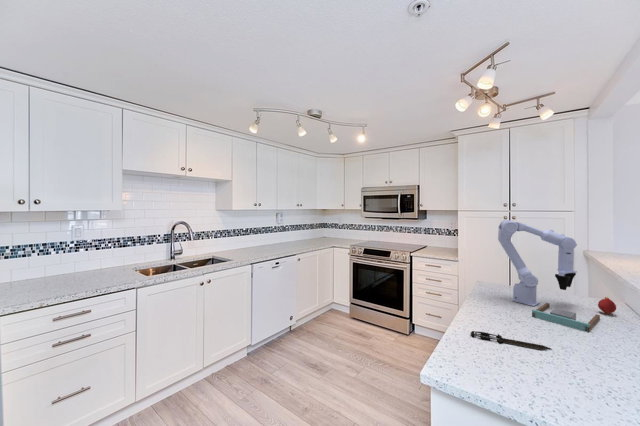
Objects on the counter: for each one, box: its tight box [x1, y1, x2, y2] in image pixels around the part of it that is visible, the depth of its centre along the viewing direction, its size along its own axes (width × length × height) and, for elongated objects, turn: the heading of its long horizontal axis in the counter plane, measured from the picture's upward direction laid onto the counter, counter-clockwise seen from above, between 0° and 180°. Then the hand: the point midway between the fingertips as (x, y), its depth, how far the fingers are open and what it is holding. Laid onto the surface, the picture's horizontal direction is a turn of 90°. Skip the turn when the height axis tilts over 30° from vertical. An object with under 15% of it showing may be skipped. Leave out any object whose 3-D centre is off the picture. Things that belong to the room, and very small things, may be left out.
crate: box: [549, 307, 577, 321], centre depth 119 cm, size 7×8×4 cm
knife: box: [470, 330, 553, 351], centre depth 101 cm, size 25×6×1 cm, turn 57°
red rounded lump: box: [597, 296, 617, 315], centre depth 126 cm, size 6×6×8 cm
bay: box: [531, 302, 601, 333], centre depth 122 cm, size 19×20×3 cm
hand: (565, 288), depth 135 cm, fingers open, 7 cm apart
